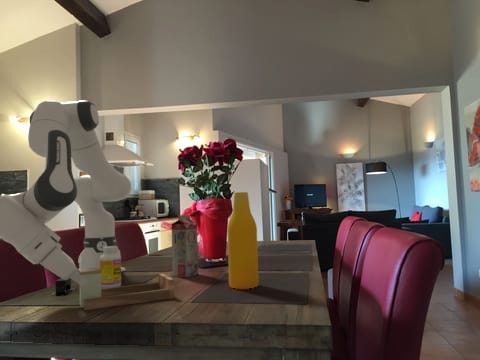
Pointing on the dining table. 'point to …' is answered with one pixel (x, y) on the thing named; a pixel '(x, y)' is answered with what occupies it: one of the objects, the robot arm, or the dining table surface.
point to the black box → (62, 287)
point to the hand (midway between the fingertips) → (84, 281)
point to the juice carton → (184, 247)
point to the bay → (133, 294)
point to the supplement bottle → (110, 267)
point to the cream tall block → (90, 284)
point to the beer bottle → (242, 245)
